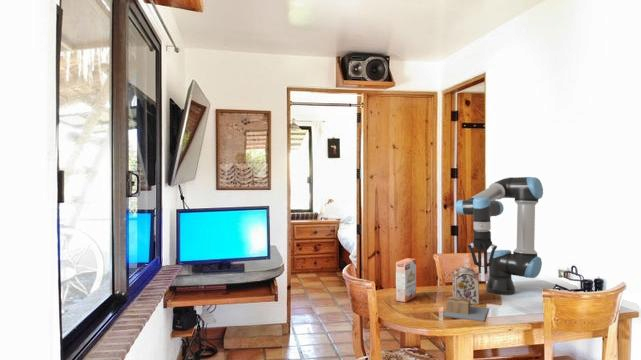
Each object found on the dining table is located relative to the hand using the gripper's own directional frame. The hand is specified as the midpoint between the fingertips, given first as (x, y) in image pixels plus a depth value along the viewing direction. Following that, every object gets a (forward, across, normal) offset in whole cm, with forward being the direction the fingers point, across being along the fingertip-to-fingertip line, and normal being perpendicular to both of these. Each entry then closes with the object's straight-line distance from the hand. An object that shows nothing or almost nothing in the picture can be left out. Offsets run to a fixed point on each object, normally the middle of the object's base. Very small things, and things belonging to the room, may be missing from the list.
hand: (483, 280), depth 190 cm
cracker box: (+17, -40, +10) cm, 44 cm away
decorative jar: (+17, -11, +19) cm, 27 cm away
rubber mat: (+16, -8, 0) cm, 18 cm away
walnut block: (+13, -6, 0) cm, 15 cm away
